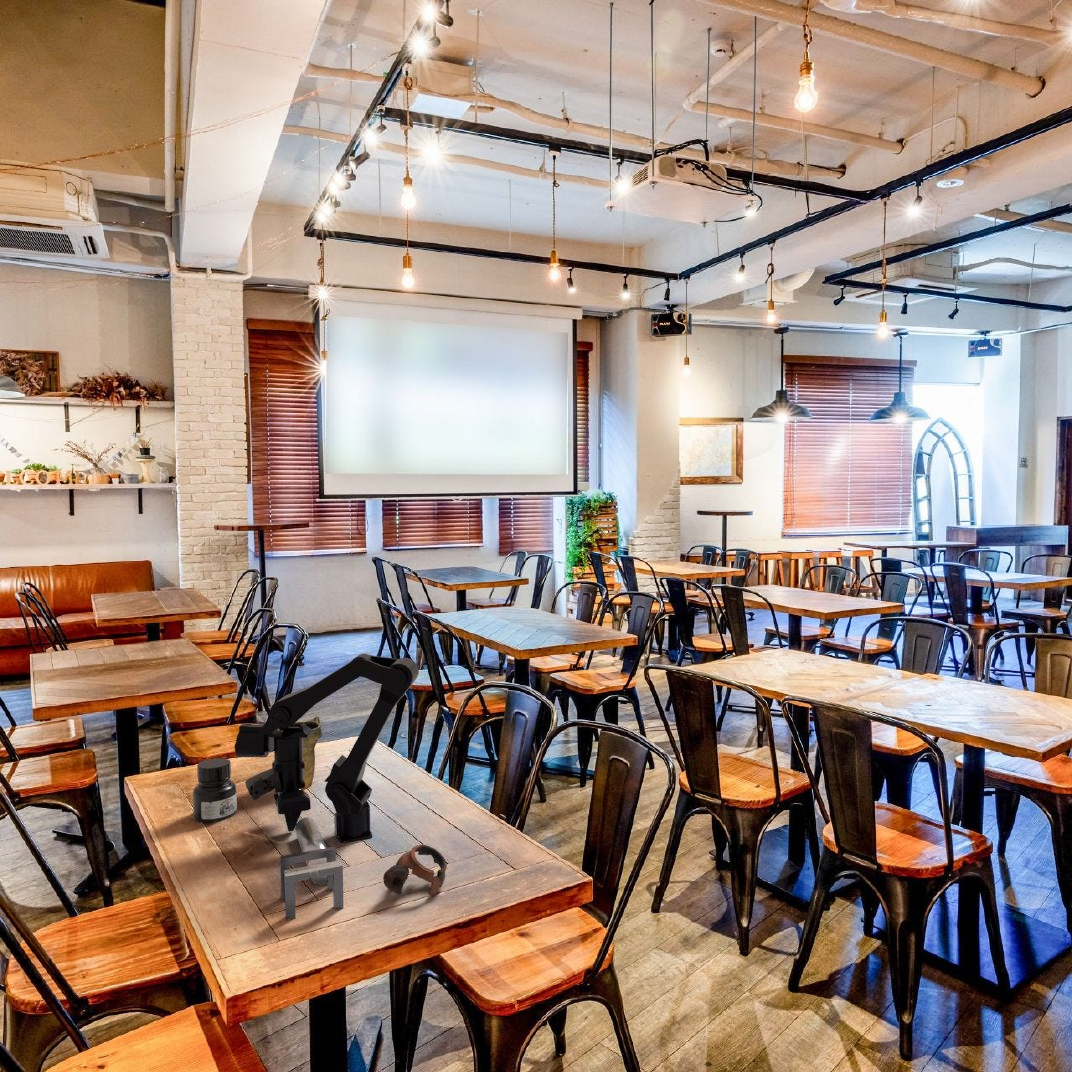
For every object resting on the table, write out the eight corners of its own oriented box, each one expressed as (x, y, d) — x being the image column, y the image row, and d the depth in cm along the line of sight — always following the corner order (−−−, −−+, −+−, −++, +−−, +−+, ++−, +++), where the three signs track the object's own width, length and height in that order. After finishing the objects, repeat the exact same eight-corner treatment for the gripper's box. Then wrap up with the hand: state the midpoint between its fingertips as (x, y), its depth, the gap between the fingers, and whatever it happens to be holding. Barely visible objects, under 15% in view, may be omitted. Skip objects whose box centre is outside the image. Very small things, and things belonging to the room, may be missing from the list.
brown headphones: (411, 871, 151) (431, 836, 150) (440, 909, 146) (461, 872, 145) (363, 882, 142) (383, 845, 141) (392, 923, 136) (414, 884, 135)
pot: (285, 805, 184) (283, 727, 183) (251, 796, 190) (249, 721, 189) (339, 781, 199) (337, 709, 198) (305, 774, 204) (304, 704, 203)
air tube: (291, 823, 165) (313, 813, 167) (298, 842, 166) (320, 832, 167) (307, 868, 145) (331, 856, 146) (314, 890, 146) (339, 878, 147)
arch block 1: (335, 888, 145) (334, 846, 145) (336, 891, 144) (335, 849, 144) (281, 899, 141) (279, 856, 141) (281, 902, 140) (280, 859, 140)
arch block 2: (342, 906, 139) (341, 860, 138) (343, 909, 138) (342, 862, 137) (285, 918, 135) (284, 870, 135) (286, 921, 134) (285, 873, 133)
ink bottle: (205, 828, 171) (204, 773, 171) (183, 818, 177) (182, 765, 176) (246, 814, 179) (245, 761, 178) (224, 805, 184) (222, 753, 184)
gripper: (245, 749, 172) (247, 820, 173) (250, 777, 155) (252, 856, 156) (299, 742, 177) (300, 812, 178) (309, 769, 160) (311, 846, 160)
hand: (290, 830), depth 168 cm, fingers closed
